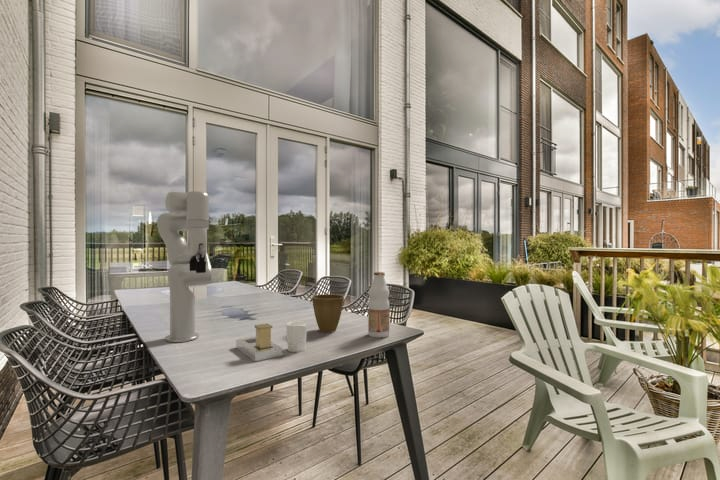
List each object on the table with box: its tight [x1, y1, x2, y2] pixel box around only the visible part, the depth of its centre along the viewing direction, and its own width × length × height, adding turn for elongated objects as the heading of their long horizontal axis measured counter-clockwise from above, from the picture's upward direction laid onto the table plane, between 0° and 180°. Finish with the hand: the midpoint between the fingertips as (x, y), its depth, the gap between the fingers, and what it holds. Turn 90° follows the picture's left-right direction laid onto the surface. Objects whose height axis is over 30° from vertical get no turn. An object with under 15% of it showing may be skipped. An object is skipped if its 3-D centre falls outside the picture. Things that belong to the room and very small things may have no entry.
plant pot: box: [311, 293, 345, 333], centre depth 168 cm, size 15×15×16 cm
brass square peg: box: [254, 323, 273, 350], centre depth 132 cm, size 5×5×11 cm
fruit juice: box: [367, 271, 391, 339], centre depth 160 cm, size 9×9×28 cm
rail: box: [235, 336, 283, 362], centre depth 136 cm, size 20×10×3 cm, turn 37°
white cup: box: [285, 320, 308, 353], centre depth 139 cm, size 8×8×10 cm
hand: (197, 271), depth 133 cm, fingers open, 9 cm apart
